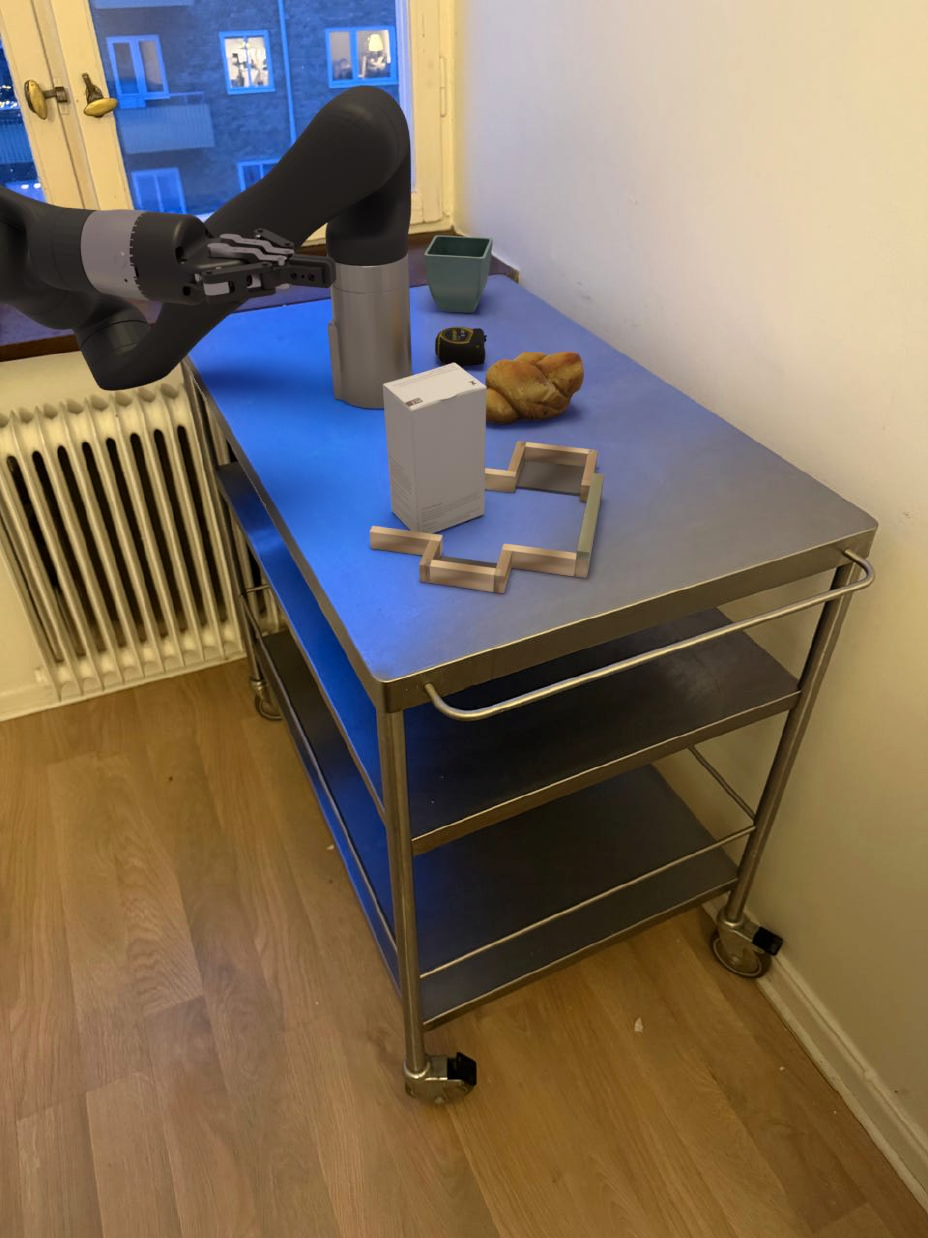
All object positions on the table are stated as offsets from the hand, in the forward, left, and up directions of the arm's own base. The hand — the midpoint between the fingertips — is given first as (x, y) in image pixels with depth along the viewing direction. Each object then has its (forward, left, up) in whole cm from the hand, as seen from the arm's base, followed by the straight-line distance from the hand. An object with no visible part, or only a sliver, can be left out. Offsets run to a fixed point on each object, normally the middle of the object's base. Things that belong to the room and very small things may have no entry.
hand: (332, 272), depth 76 cm
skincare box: (+9, 0, -24) cm, 26 cm away
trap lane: (+15, +1, -24) cm, 28 cm away
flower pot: (-1, +55, -24) cm, 60 cm away
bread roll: (+14, +25, -24) cm, 37 cm away
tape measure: (+4, +37, -24) cm, 45 cm away
